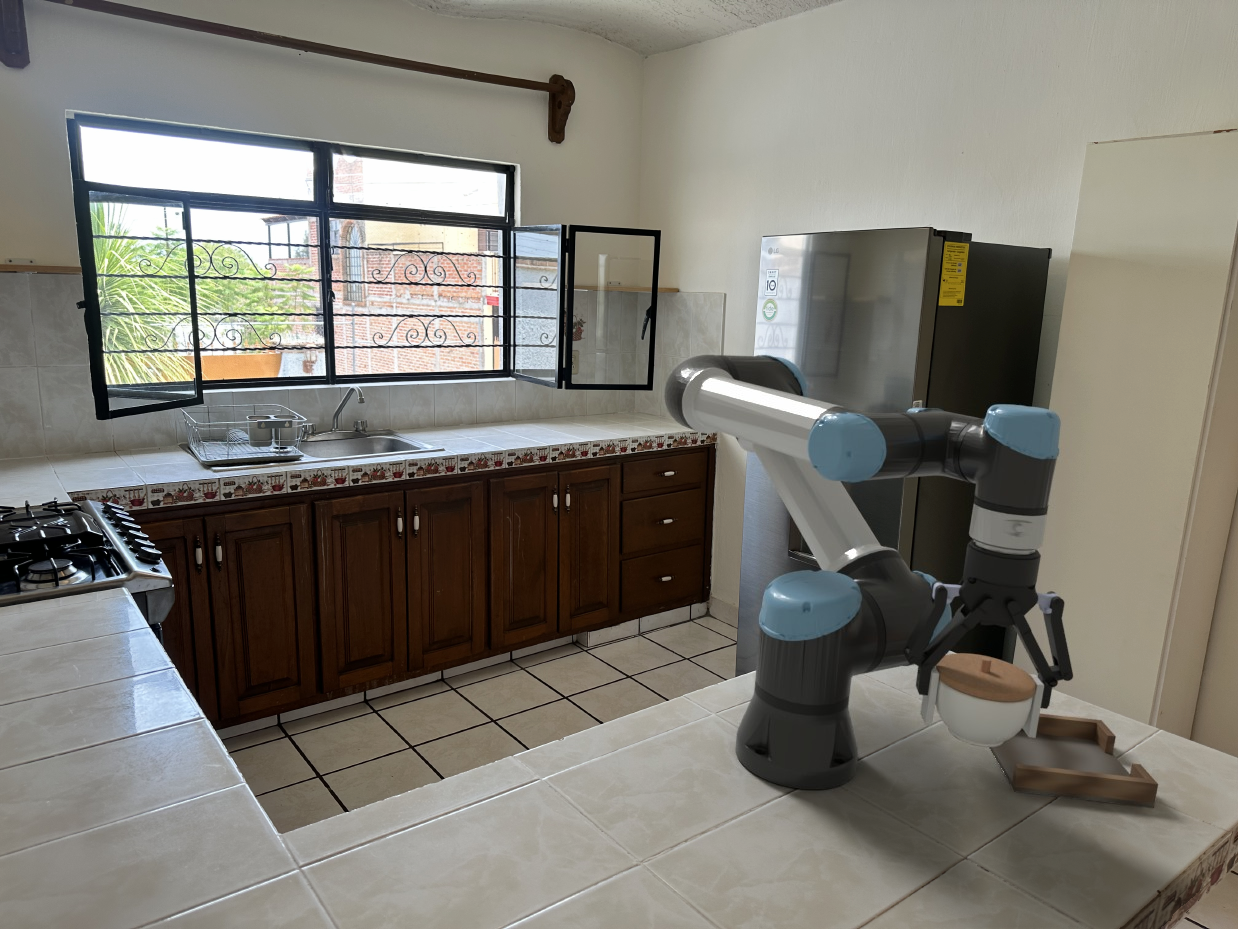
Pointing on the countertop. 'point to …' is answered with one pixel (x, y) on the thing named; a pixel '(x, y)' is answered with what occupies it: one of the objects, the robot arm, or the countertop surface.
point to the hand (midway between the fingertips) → (976, 725)
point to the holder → (1073, 763)
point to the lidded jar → (983, 698)
